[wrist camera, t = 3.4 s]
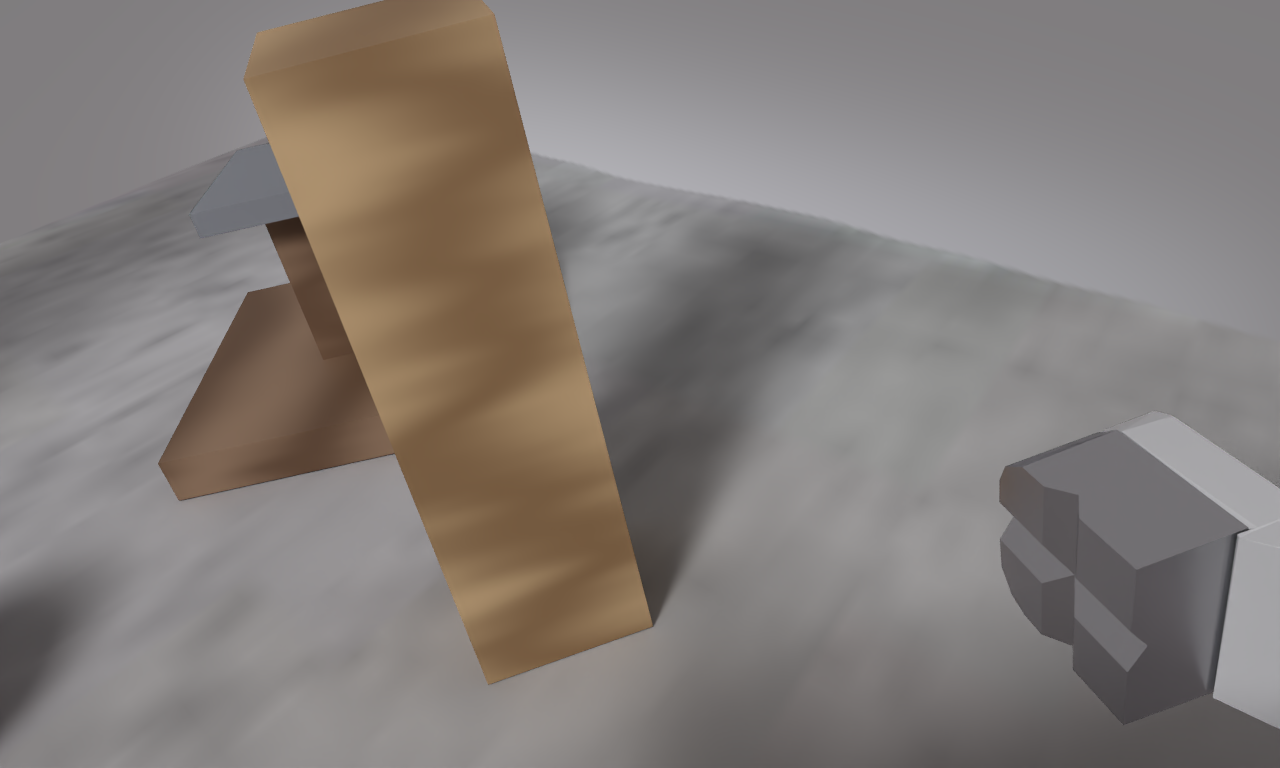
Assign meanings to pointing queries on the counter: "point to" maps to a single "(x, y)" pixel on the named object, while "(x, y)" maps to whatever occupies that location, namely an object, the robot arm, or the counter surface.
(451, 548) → the wooden rod
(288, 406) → the pedestal
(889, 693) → the counter surface
